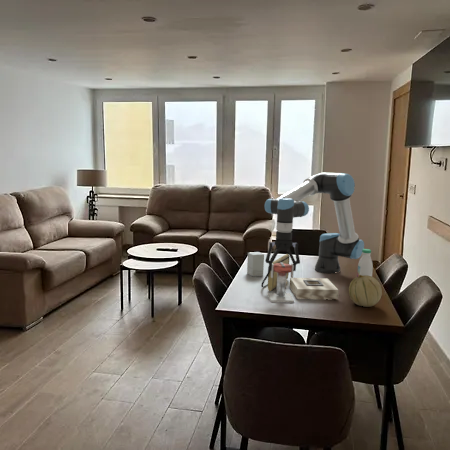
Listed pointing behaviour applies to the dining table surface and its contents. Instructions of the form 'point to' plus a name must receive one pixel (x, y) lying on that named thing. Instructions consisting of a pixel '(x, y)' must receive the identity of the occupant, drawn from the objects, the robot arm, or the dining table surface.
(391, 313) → the dining table surface
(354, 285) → the cantaloupe
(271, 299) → the rubber mat
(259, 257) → the supplement box
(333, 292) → the block
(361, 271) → the milk bottle
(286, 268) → the screw pin
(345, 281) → the dining table surface
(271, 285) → the clutch purse
